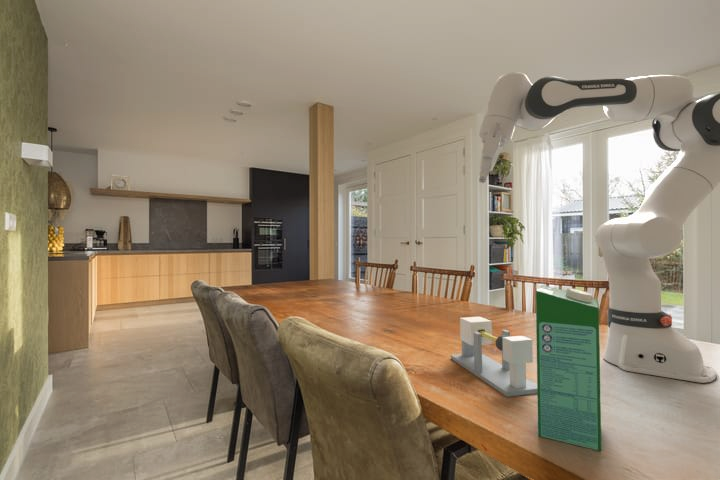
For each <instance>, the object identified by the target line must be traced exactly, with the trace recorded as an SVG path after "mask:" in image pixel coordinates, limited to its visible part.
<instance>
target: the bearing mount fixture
mask: <svg viewBox="0 0 720 480" xmlns="http://www.w3.org/2000/svg"><path fill="white" fill-rule="evenodd" d="M482 336H483V337H485V338H487V339H490V340H492V342H494V343H495V347H496V348H497V349H498V350H499V351H501V363H500V362H498V361H496V360H494V359H493V358H491V357H489V356H487V355H485V354H484V353H483V346H482ZM533 355H534V354H533V339H532V338H530V337H526V336H525V335H512V336H511V331H509V330H507V329H501V335H499V336H498V337H496V336H494V335H493V334H492V335H490V334H488V333H486V332H483V331H481V330H478V332H474V345H473V346H471V345H469V344H468V343H466V342H464V341H462V340H461V353H459V354H458V353H457V354H451V355H450V359H451V360H452V361H453V362H455V363H457V365H458V364H459V365H460V366H461V367H462V368H465V370H467V371H469V372H470V374H471V373H472V374H473V375H474V376H475V377H477V378H479V380H481V381H483V382H484V383H486V384H488V386H489V387H492V388H493V389H494V390H497V391H498V392H499V393H500V394H502V395H503V396H504V397H507V398H509V397H518V396H523V395H524V396H525V395H526V396H527V395H534V394H537V383H536V382H534V381H532V380H530V379H528V378H527V364H530V363H533V362H534V361H533V360H534V359H533V357H534V356H533Z"/></svg>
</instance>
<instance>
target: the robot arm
mask: <svg viewBox="0 0 720 480" xmlns="http://www.w3.org/2000/svg"><path fill="white" fill-rule="evenodd" d="M491 91H492V92H491V94H490V96H489V100H488V103H487V111H486V113H485V115H484V117H483V121H482V124H481V127H480V130H479V137H480V139H481V143H482V150H481V159H480V160H481V161H480V172H479V179H478V182H479V183H481V184H485V183H486V182H487V181H486V180H487V178H488V176H489V173H490V172H492V171H493V170H494V167H495V166H496V163H497V160H498V158H499V156H500V154H501V152H502V149H504V148H505V147H506V145H507V144H508V143H510V142H511V141H512V138H513V136H514V133H515V129H516V126H517V127H519V128H522V129H523V130H528V131H532V132H534V131H539V130H542V129H544V128H546V126H548V125H549V124H551V122H552V121H554V119H556V118H557V116H559V115H562V113H564V112H566V111H567V112H568V110H569V111H570V110H571V109H581V108H596V107H597V108H601V107H603V111H604V113H605V115H606V117H607V118H609V120H611V121H614V122H624V123H626V122H639V121H648V120H652V123H651V127H652V129H653V130H652V136H653V139H654V142H655V144H656V145H657V146H658V148H660V149H662V150H664V151H668V152H679V154H678V155H677V157H676V159H675V161H674V162H672V163H671V165H669V166H668V167H667V169H665V170H664V171H663V172H662V173H661V174H660V176H659V177H658V178H657V179H656V180H655V181H654V182H653V183H652V184H651V185H650V186H649V187H648V188H647V189H646V190H645V192H644V195H643V197H644V199H643V201H642V202H641V205H639V208H638V209H637V210H636V211H635V212H634V213H633V214H631V215H629V216H625V217H624V216H623V217H614V218H612V219H610V220H608V221H606V222H604V223H601V225H599V227H597V230H596V232H595V236H594V238H595V242H596V244H597V246H598V248H600V249H599V250H600V251H601V254H602V257H603V261H604V264H605V268H606V271H607V277H608V289H609V290H608V291H609V306H608V307H607V312H606V313H607V314H606V315H607V327H608V336H607V343H606V348H605V351H604V354H603V356H602V357H603V359H604V360H605V361H606V362H608V363H610V364H612V365H615V366H617V367H619V368H620V369H621V370H623V371H627V372H630V373H631V372H632V373H639V374H644V375H651V376H658V377H661V378H662V377H663V378H669V379H675V380H682V381H687V382H688V381H689V382H695V383H703V384H705V383H710V382H713V381H714V380H716V377H717V372H716V370H715V368H714V367H712V366H710V365H708V364H706V363H704V359H703V354H702V352H701V349H700V348H699V347H698V345H697V344H696V343H695V342H694V341H692V340H690V339H688V338H687V337H686V336H684V335H683V334H681V333H680V332H679V331H677V330H676V329H675V328H673V327H672V326H673V325H672V324H673V316H672V314H670V313H669V314H668V313H667V312H665V311H662V283H661V280H660V278H659V277H658V275H656V272H655V271H654V269H653V267H652V264H651V260H652V259H657V258H661V257H665V256H668V255H671V254H672V253H674V252H676V250H678V248H679V247H680V246H681V243H682V240H683V239H682V238H683V233H682V229H683V226H684V224H685V222H686V221H687V219H688V218H689V216H690V215H691V214H692V212H694V211H695V209H696V208H697V207H699V205H700V204H701V203H702V202H703V201H704V200H705V199H706V198H707V197H708V196H709V195H711V193H713V191H714V190H715V189H716V187H717V186H718V185H719V183H720V92H717V93H712V94H709V95H706V96H704V97H702V98H701V99H699V100H697V99H696V98H695V97H694V86H693V83H692V81H691V80H690V79H689V78H687V77H686V76H682V75H675V74H674V75H672V74H658V75H657V74H655V75H648V76H647V75H646V76H637V77H629V78H602V79H601V78H600V79H585V80H584V79H582V80H577V79H576V80H574V79H567V78H564V77H560V76H557V75H556V76H555V75H549V76H548V75H547V76H544V77H542V78H539V79H538V80H536V81H535V82H534V83H532V82H531V81H530V79H529V78H528V76H527V75H526V73H523V72H518V71H513V72H507V73H504V74H503V75H501V76H499V78H498V79H497V80H496V81H495V84H494V86H493V88H492V90H491ZM650 259H651V260H650Z"/></svg>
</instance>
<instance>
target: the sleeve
mask: <svg viewBox="0 0 720 480" xmlns="http://www.w3.org/2000/svg"><path fill="white" fill-rule="evenodd" d="M492 323H493V321H492V320H490V319H487V318H485V317H482V316H481V315H480V316H467V317H466V316H465V317H459V340H461V342H462V341H464V342H466V343H468V344H469V345H471V346H473V345H474V332H478V330H481V331H483V332H486V333H488V334H490V335H492V336H493V324H492ZM492 344H493V341H492V340H490V339H487V338H485V337H483V336H482V345H483V346H484V345H492Z"/></svg>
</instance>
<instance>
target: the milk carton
mask: <svg viewBox="0 0 720 480" xmlns="http://www.w3.org/2000/svg"><path fill="white" fill-rule="evenodd" d="M593 297H594V294H592V293H590V292H588V291H584V290H581V289H578V288H577V289H576V288H572V287H568V288H567V290H563V289H559V288H556V287H551V286H549V285H546V284H541V285H540V286H539V287H538V288H537V289H536V291H535V316H536V317H535V319H536V321H535V323H536V324H535V326H536V382H537V383H536V384H537V393H536V394H537V397H536V398H537V435H538V437H542V438H546V439H550V440H554V441H557V442H560V443H561V442H562V443H566V444H569V445H575V446H578V447H583V448H586V449H590V450H595V451H599V452H601V451H602V425H601V423H602V420H601V419H602V418H601V417H602V410H601V404H602V403H601V401H602V400H601V360H600V359H601V355H600V351H601V347H600V338H601V337H600V307H599V301H598V300H599V299H596V298H593Z"/></svg>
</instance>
